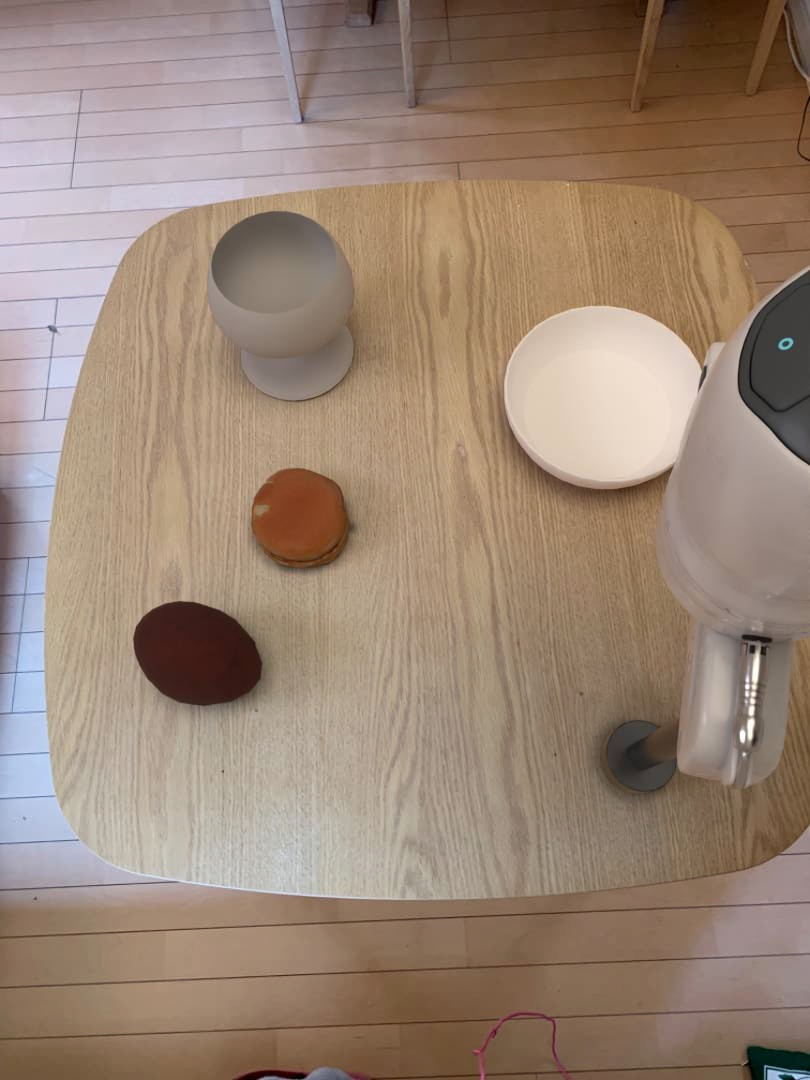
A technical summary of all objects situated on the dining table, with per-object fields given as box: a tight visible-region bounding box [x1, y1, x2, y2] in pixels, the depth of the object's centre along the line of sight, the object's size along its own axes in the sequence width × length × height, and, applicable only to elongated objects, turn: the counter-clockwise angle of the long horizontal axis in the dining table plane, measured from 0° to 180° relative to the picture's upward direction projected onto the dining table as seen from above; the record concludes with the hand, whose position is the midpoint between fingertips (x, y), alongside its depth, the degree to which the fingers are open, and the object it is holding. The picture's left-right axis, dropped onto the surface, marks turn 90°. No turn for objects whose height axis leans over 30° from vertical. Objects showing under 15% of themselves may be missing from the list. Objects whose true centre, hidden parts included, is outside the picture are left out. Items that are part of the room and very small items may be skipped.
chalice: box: [206, 210, 355, 401], centre depth 84 cm, size 14×14×15 cm
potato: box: [132, 600, 263, 707], centre depth 75 cm, size 9×12×9 cm
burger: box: [250, 467, 350, 569], centre depth 82 cm, size 10×9×5 cm
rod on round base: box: [599, 716, 680, 795], centre depth 64 cm, size 6×6×24 cm
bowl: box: [503, 305, 702, 490], centre depth 85 cm, size 20×20×6 cm
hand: (716, 598), depth 48 cm, fingers open, 8 cm apart
